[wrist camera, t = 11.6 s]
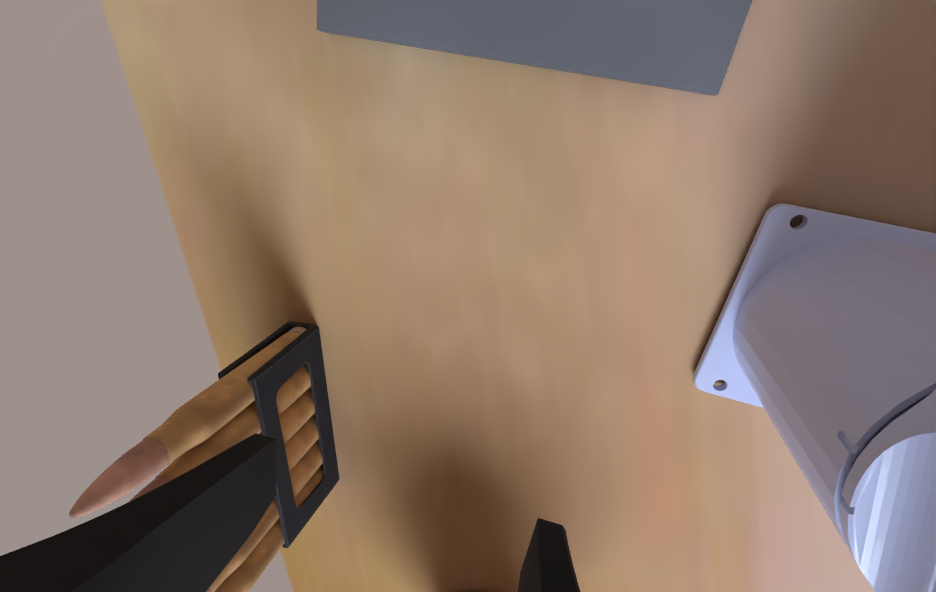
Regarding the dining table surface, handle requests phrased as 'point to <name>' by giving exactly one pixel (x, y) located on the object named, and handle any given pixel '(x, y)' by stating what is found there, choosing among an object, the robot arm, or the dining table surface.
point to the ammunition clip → (234, 419)
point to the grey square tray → (562, 34)
